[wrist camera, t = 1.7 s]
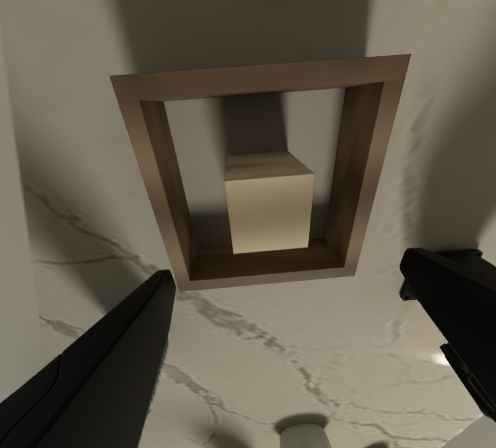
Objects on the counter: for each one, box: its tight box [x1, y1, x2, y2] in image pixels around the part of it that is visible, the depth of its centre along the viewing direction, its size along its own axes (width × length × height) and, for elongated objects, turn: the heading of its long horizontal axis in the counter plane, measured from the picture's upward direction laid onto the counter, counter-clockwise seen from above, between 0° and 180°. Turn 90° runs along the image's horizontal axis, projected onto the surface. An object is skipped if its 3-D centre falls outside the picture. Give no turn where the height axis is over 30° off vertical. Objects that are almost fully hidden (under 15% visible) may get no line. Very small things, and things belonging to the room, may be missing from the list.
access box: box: [110, 54, 411, 292], centre depth 15 cm, size 14×14×4 cm
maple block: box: [225, 151, 315, 254], centre depth 14 cm, size 4×4×6 cm
